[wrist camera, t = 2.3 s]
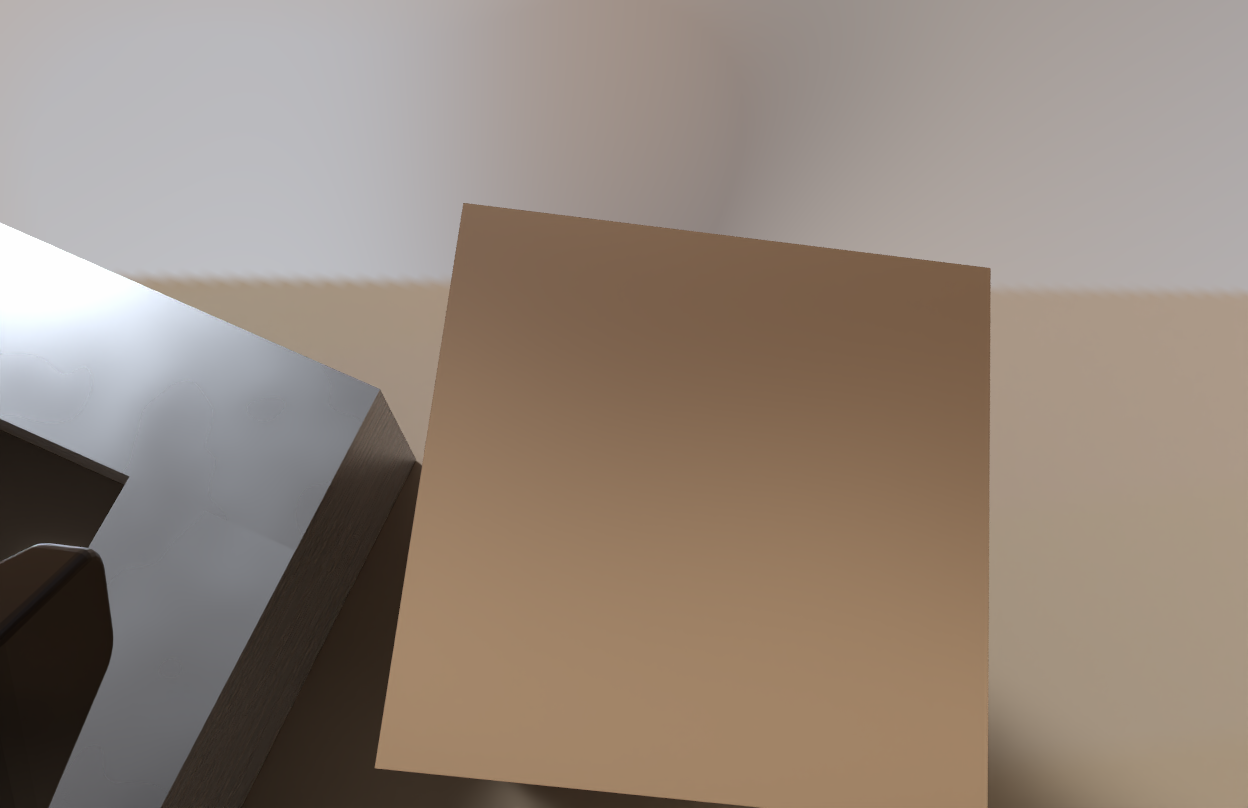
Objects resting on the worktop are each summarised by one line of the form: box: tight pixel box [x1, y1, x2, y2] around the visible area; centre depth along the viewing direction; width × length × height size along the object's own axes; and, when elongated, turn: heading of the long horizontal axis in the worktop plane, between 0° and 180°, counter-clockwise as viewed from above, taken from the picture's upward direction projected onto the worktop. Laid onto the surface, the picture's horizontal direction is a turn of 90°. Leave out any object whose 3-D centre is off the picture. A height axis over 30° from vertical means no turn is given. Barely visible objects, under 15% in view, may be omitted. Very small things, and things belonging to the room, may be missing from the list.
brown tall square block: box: [375, 203, 990, 808], centre depth 12 cm, size 4×4×10 cm
